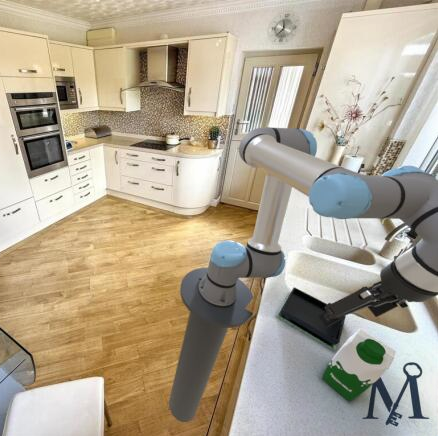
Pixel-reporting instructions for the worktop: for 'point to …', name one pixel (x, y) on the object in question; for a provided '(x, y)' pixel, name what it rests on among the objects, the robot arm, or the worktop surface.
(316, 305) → the black tray
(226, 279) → the robot arm
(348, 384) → the soya milk
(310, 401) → the worktop surface
